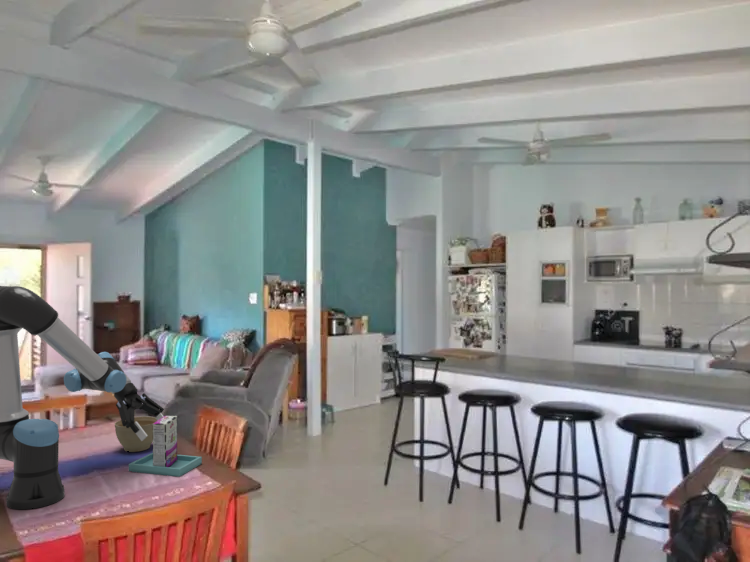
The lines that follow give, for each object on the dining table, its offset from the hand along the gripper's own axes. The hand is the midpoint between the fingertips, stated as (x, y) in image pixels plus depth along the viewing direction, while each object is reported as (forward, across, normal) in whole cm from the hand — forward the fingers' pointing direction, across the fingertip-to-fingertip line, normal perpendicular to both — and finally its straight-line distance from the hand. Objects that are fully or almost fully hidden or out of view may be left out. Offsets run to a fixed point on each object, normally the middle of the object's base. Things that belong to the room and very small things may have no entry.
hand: (157, 433), depth 203 cm
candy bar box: (+11, +1, -5) cm, 12 cm away
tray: (+11, +1, -5) cm, 12 cm away
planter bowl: (-6, -15, -22) cm, 28 cm away
